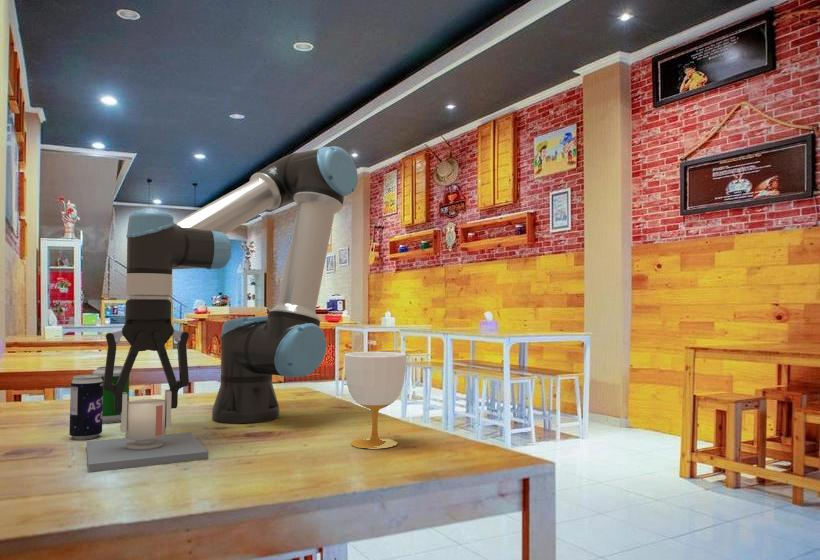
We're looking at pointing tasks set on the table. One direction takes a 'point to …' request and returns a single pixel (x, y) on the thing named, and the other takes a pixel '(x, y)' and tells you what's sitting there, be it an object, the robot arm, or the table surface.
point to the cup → (374, 384)
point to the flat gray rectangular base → (143, 451)
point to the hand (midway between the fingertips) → (145, 428)
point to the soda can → (111, 395)
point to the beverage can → (86, 407)
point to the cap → (146, 419)
